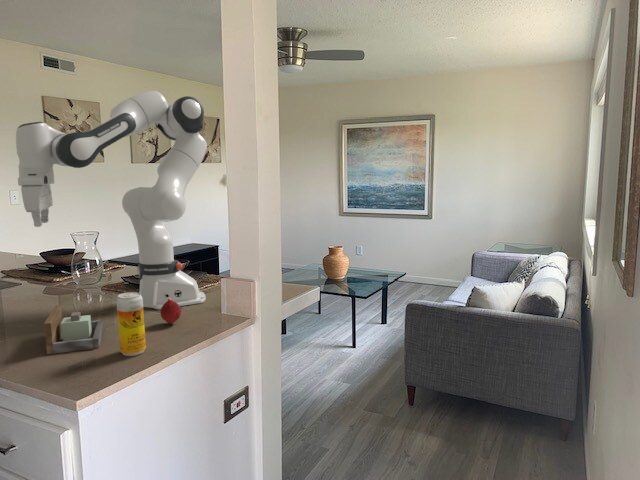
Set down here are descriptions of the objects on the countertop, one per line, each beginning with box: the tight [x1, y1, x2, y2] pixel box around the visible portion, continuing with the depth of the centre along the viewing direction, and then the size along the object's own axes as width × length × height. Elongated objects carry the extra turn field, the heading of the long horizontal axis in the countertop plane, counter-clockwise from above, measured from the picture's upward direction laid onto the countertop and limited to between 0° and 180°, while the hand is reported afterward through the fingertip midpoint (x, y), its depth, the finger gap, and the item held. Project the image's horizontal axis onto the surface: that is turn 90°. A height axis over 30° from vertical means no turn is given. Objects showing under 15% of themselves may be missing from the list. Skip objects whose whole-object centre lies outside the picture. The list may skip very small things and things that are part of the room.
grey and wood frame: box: [43, 304, 105, 355], centre depth 131 cm, size 12×16×8 cm
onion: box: [160, 298, 182, 325], centre depth 143 cm, size 6×6×8 cm
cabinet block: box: [61, 311, 93, 342], centre depth 131 cm, size 6×5×8 cm
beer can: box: [116, 291, 147, 357], centre depth 122 cm, size 6×6×15 cm
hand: (41, 224), depth 145 cm, fingers open, 8 cm apart
